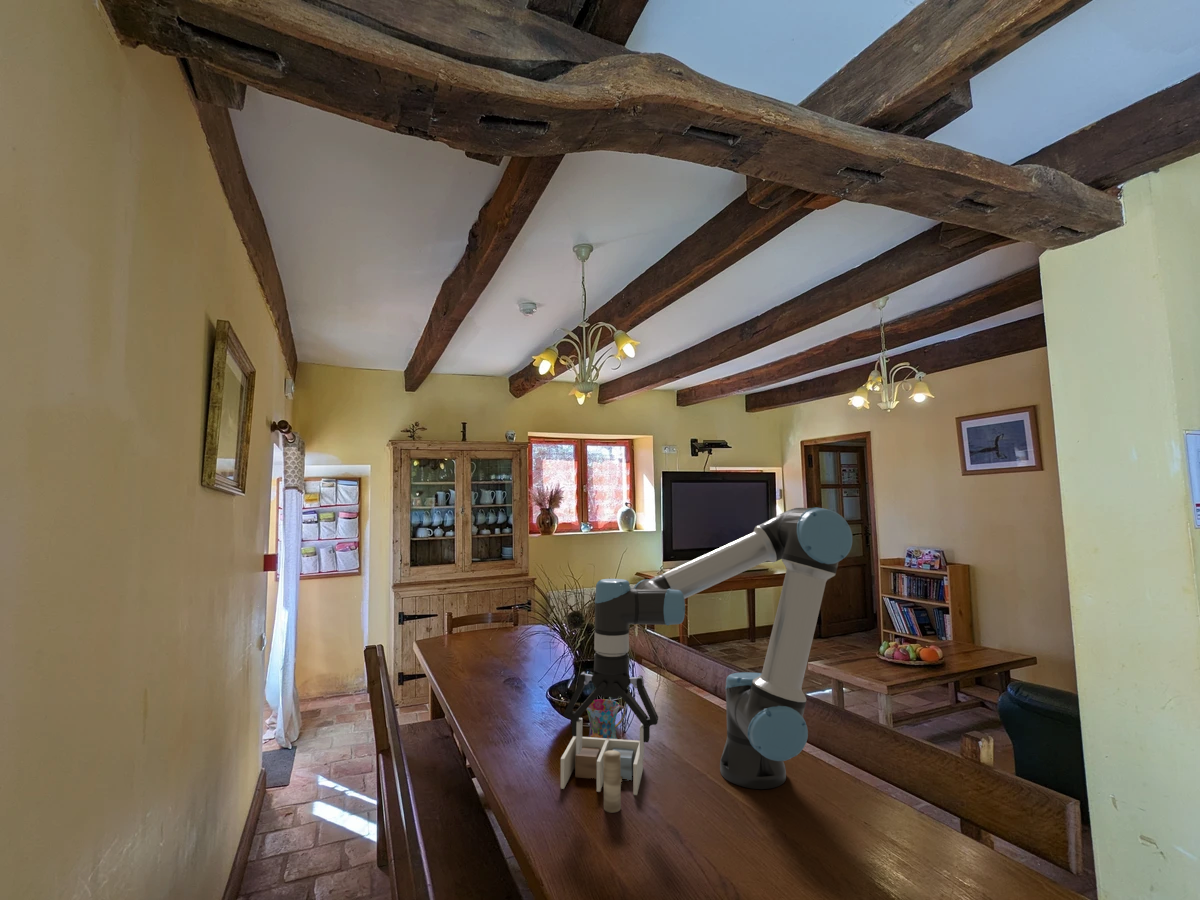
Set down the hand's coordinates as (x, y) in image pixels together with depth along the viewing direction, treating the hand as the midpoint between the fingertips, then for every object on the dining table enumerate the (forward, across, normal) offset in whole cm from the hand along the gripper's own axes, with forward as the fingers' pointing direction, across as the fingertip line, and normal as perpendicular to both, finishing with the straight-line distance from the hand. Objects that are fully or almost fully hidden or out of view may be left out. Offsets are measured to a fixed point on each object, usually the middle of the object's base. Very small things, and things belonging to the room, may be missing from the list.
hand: (610, 754), depth 124 cm
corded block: (+11, -1, -8) cm, 14 cm away
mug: (+11, +6, -32) cm, 34 cm away
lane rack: (+11, +4, -13) cm, 17 cm away
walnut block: (+11, +8, -15) cm, 20 cm away
